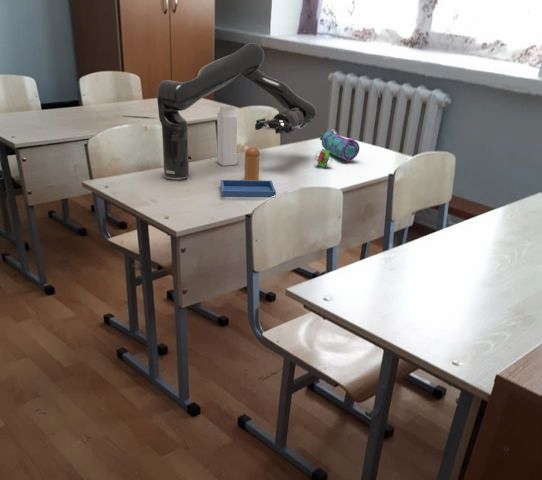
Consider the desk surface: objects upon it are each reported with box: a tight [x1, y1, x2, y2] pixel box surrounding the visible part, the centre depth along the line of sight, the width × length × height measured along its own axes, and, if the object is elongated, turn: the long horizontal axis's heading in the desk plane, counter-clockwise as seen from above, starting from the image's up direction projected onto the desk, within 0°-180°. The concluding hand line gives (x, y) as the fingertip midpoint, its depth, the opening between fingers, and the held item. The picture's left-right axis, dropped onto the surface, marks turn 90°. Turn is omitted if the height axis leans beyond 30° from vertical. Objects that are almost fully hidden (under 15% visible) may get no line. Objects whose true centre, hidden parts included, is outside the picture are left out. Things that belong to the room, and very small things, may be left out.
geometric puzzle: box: [314, 148, 333, 168], centre depth 245 cm, size 7×7×8 cm
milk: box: [216, 105, 238, 167], centre depth 237 cm, size 6×6×22 cm
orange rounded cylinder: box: [243, 146, 261, 180], centre depth 221 cm, size 5×5×13 cm
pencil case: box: [319, 129, 360, 162], centre depth 259 cm, size 21×9×10 cm, turn 24°
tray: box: [220, 179, 277, 198], centre depth 212 cm, size 13×19×3 cm
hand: (266, 128), depth 222 cm, fingers open, 8 cm apart
